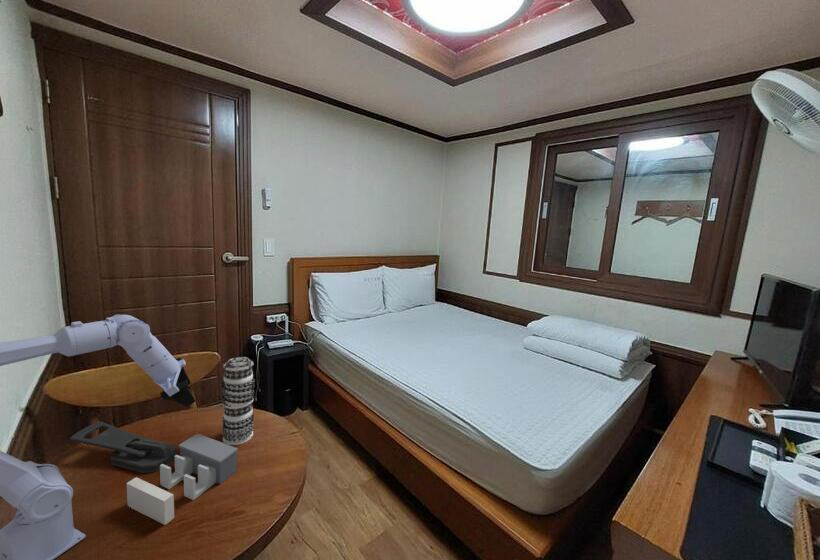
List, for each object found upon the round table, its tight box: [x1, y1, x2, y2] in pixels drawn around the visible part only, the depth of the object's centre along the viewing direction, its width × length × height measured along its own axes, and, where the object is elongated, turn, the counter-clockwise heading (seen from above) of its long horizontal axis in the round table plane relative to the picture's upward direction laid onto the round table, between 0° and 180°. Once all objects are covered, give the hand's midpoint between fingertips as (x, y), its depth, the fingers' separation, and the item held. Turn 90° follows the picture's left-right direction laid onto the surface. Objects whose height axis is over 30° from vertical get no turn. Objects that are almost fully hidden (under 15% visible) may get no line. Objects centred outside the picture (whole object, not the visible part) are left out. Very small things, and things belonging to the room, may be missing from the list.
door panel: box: [125, 476, 175, 526], centre depth 73 cm, size 12×2×6 cm, turn 71°
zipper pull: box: [69, 421, 177, 474], centre depth 89 cm, size 9×7×25 cm
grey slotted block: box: [159, 433, 239, 501], centre depth 84 cm, size 11×14×7 cm
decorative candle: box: [220, 356, 256, 446], centre depth 99 cm, size 9×9×25 cm
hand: (188, 394), depth 83 cm, fingers open, 7 cm apart
